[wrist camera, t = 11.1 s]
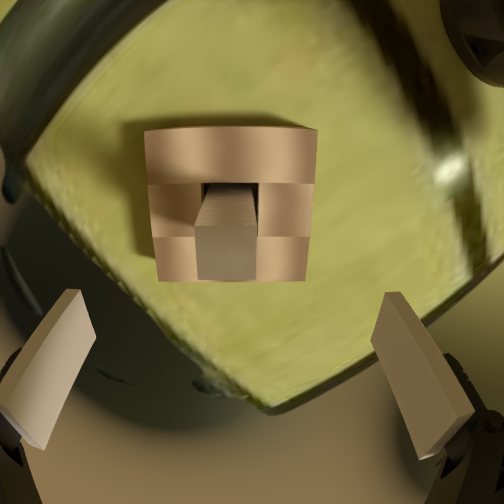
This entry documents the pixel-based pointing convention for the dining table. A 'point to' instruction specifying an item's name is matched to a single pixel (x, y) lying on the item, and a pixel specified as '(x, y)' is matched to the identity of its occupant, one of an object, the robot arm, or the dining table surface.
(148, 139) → the socket block
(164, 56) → the dining table surface
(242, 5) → the dining table surface
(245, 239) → the square bit
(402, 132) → the dining table surface
